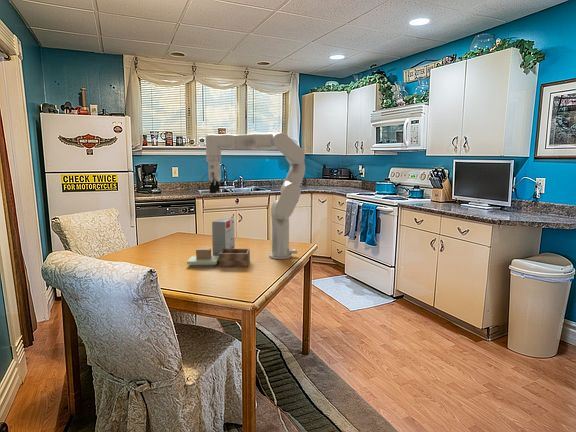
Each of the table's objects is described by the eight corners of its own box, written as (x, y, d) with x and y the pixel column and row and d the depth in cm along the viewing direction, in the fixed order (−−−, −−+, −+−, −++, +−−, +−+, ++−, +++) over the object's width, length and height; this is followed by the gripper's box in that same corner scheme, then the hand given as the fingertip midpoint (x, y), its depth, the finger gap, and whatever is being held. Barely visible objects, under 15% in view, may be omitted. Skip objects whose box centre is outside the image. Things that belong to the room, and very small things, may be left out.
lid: (220, 260, 193) (219, 246, 192) (216, 266, 183) (216, 251, 182) (192, 260, 193) (191, 246, 192) (187, 266, 183) (186, 251, 182)
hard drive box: (225, 258, 200) (224, 222, 196) (212, 257, 201) (211, 221, 198) (235, 251, 215) (234, 217, 211) (222, 250, 216) (221, 217, 213)
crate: (249, 261, 193) (249, 248, 192) (247, 267, 183) (247, 253, 182) (223, 261, 193) (222, 248, 192) (219, 267, 183) (219, 253, 182)
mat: (217, 261, 193) (217, 260, 193) (213, 267, 183) (213, 266, 183) (194, 261, 193) (194, 260, 193) (189, 267, 183) (189, 266, 183)
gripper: (218, 159, 180) (219, 193, 183) (223, 158, 197) (224, 190, 200) (202, 159, 180) (204, 193, 183) (209, 158, 197) (211, 190, 200)
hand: (214, 192), depth 191 cm, fingers open, 9 cm apart
